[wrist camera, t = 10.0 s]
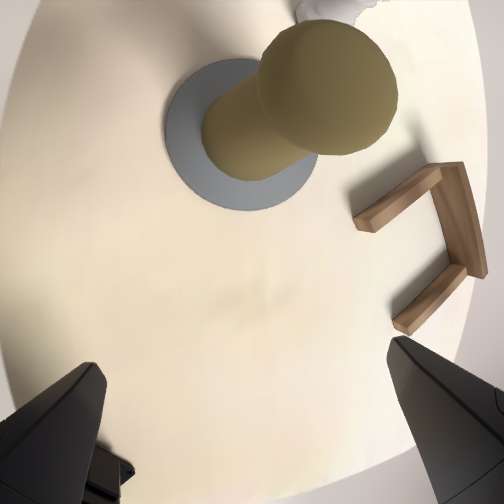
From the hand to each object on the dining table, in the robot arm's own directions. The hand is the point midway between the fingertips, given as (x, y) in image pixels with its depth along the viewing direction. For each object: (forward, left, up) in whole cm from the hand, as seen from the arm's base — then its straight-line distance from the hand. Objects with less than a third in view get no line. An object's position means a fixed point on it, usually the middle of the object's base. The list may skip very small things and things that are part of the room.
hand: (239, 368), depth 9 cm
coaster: (+9, +4, -11) cm, 15 cm away
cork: (+9, +4, -11) cm, 15 cm away
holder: (+14, -12, -11) cm, 22 cm away
